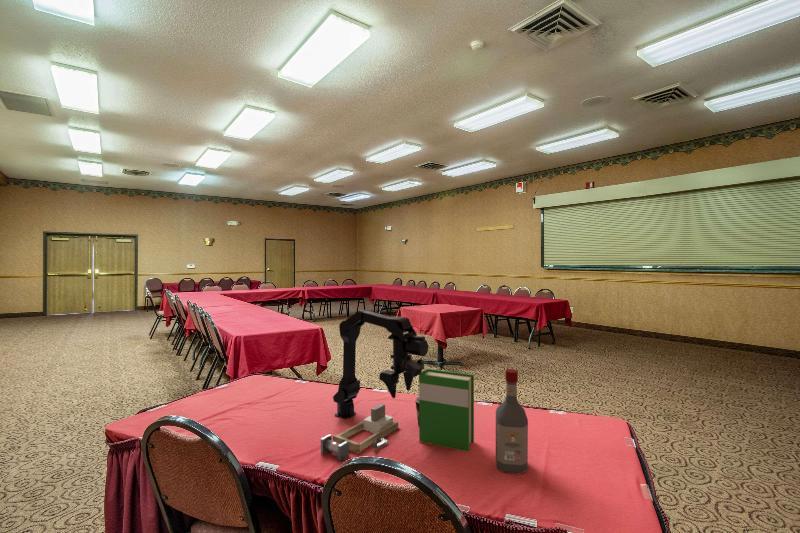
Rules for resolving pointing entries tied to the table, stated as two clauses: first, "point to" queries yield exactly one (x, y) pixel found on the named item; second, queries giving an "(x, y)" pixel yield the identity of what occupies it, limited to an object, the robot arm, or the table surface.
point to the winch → (335, 447)
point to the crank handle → (379, 445)
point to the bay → (368, 441)
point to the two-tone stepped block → (377, 419)
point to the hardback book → (446, 408)
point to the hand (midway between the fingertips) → (401, 394)
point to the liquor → (511, 430)
